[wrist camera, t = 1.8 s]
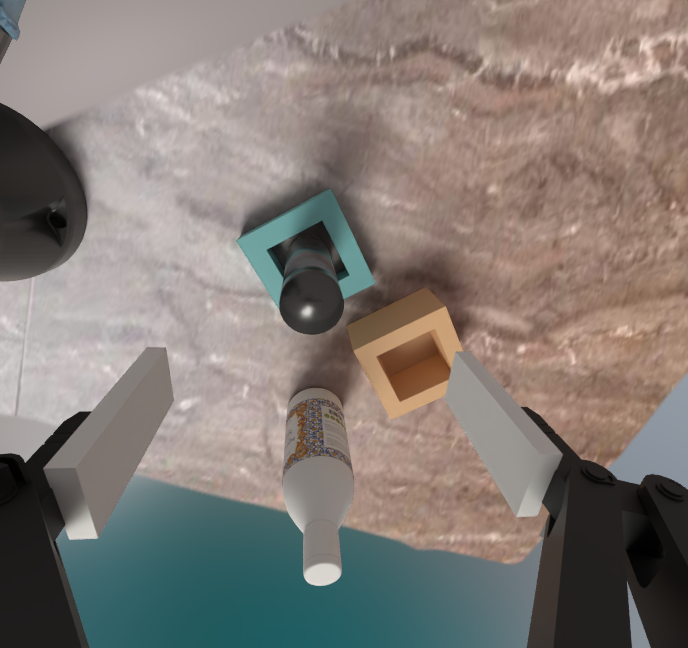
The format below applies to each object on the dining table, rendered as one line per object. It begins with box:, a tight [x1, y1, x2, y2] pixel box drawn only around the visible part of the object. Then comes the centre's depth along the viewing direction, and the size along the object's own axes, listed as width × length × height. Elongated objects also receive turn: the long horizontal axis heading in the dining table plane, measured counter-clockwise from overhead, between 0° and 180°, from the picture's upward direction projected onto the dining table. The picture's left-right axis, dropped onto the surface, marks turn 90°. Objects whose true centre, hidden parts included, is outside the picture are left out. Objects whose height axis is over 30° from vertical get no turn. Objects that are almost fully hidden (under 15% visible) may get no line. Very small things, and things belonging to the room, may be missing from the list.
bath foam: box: [282, 388, 354, 586], centre depth 36 cm, size 7×7×20 cm
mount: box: [236, 188, 375, 310], centre depth 35 cm, size 10×10×2 cm
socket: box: [346, 287, 463, 420], centre depth 39 cm, size 10×10×6 cm
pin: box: [279, 236, 344, 335], centre depth 30 cm, size 4×4×14 cm
